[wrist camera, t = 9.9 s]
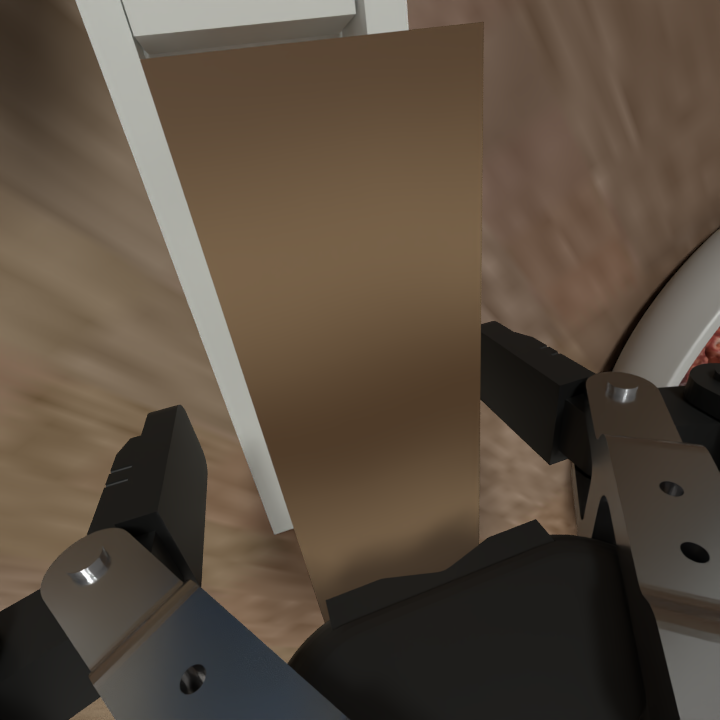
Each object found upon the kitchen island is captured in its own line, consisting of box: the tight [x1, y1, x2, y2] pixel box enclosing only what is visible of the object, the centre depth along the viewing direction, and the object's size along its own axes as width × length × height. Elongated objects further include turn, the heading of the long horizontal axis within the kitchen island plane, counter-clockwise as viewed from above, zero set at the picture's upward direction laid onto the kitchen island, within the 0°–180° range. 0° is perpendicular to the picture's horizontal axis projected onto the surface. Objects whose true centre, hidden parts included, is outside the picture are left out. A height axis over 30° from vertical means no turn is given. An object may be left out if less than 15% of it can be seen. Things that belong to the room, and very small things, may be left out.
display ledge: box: [76, 0, 409, 535], centre depth 16 cm, size 8×20×4 cm, turn 8°
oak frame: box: [140, 22, 484, 623], centre depth 12 cm, size 14×4×10 cm, turn 8°
